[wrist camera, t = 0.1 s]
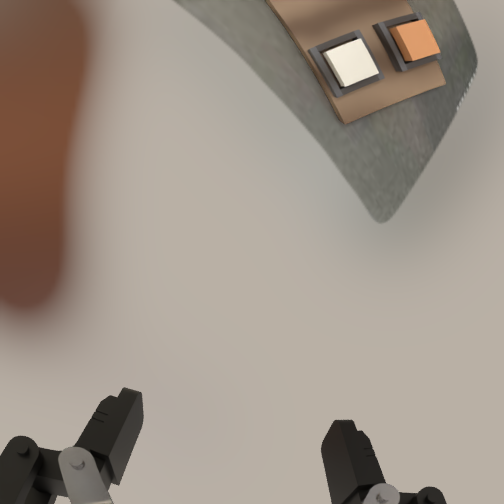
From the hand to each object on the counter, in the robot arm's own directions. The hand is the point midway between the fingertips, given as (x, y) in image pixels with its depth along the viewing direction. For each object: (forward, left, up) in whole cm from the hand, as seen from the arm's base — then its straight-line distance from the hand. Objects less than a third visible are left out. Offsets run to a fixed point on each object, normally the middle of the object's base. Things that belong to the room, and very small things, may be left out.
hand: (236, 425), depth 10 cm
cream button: (-7, +15, -27) cm, 31 cm away
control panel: (-13, +19, -31) cm, 39 cm away
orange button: (-7, +23, -27) cm, 36 cm away
